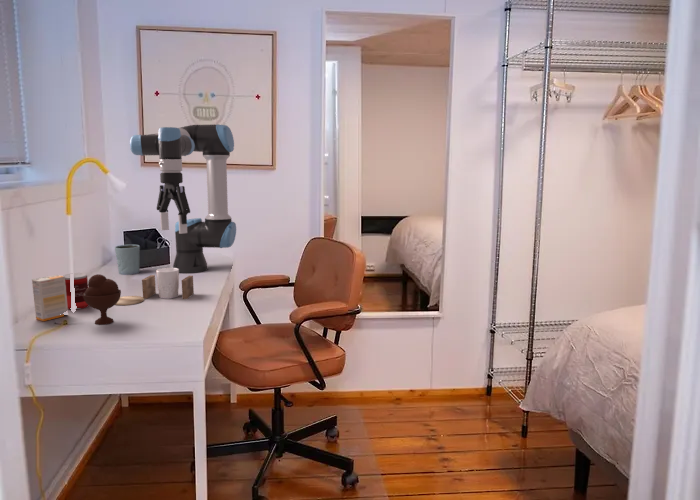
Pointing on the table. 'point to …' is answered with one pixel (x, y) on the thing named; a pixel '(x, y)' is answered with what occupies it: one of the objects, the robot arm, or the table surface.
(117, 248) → the grey green cup
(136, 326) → the table surface
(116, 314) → the table surface
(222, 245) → the robot arm
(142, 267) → the table surface
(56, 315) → the supplement box
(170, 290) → the white cup
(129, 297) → the cork coaster
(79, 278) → the canned food
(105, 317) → the ice cream bowl
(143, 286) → the walnut cradle
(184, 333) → the table surface
